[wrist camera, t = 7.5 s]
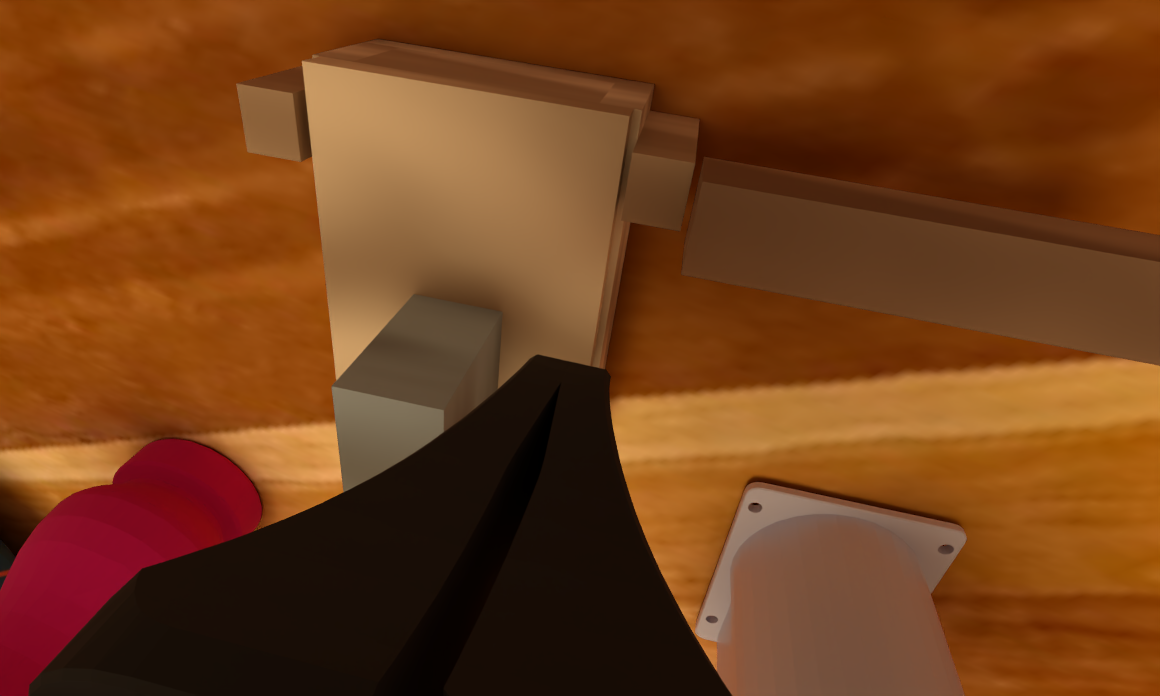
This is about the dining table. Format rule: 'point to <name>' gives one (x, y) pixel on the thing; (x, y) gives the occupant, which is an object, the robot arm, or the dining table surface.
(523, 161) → the lid
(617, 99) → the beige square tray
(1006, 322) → the rectangular bar
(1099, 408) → the dining table surface
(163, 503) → the pepper mill
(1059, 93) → the dining table surface
